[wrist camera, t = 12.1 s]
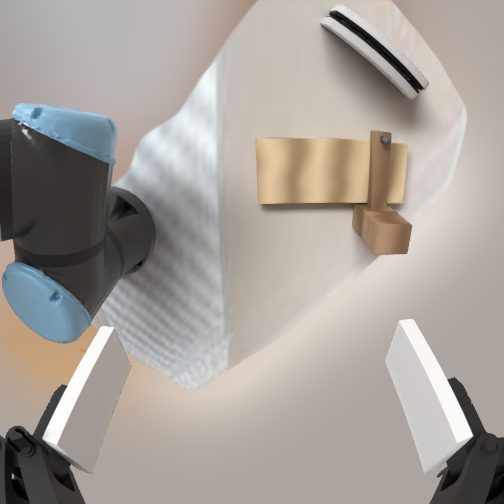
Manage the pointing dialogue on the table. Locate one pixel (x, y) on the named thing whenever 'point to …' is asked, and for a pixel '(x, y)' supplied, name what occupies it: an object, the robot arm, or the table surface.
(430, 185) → the table surface
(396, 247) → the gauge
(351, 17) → the grey curved slab
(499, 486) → the robot arm
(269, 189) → the board
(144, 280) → the table surface
